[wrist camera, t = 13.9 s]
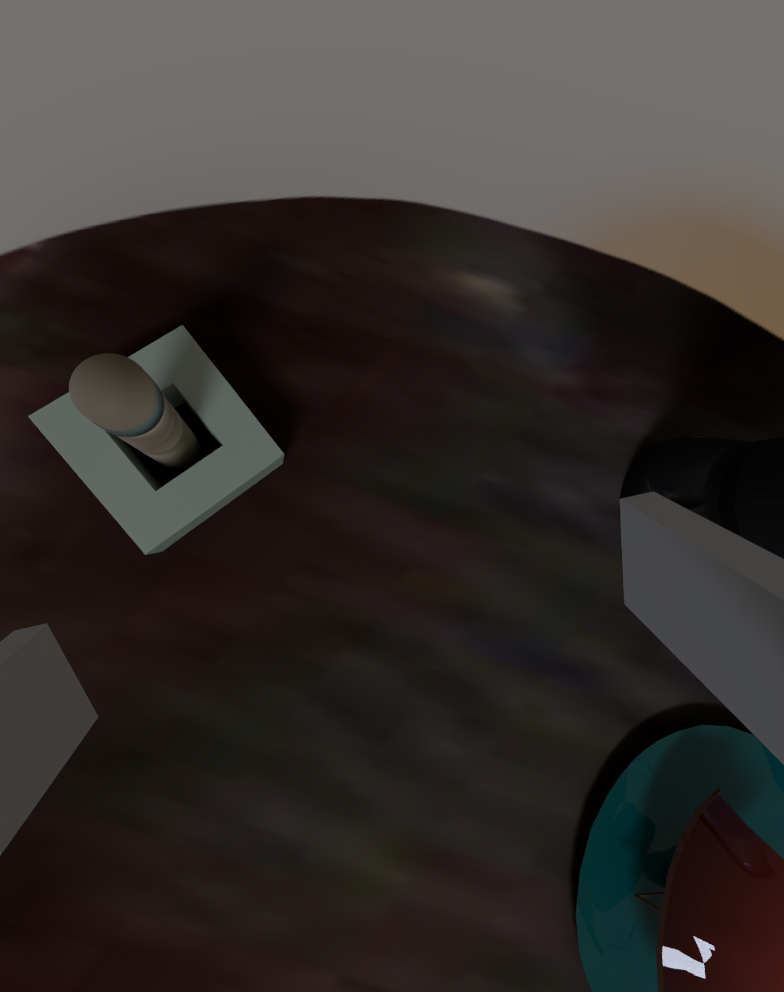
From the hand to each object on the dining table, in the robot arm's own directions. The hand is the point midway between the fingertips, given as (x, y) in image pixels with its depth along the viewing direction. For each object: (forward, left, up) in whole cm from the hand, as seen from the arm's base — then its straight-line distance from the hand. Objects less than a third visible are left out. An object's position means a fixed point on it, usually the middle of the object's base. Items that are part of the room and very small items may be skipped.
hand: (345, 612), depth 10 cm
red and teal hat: (-10, +47, -27) cm, 55 cm away
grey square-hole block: (+2, -12, -26) cm, 29 cm away
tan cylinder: (+2, -12, -26) cm, 29 cm away
